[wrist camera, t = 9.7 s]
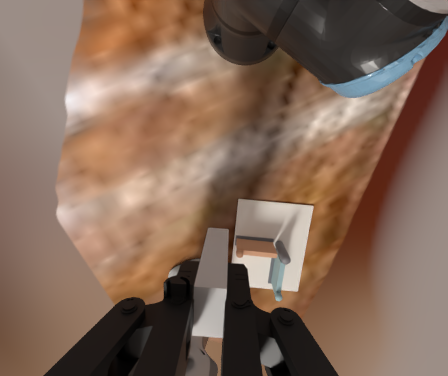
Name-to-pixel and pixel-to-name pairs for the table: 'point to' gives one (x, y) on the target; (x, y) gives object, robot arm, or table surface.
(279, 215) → the card
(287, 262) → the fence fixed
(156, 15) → the table surface
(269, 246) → the fence panel
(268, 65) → the table surface
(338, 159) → the table surface
